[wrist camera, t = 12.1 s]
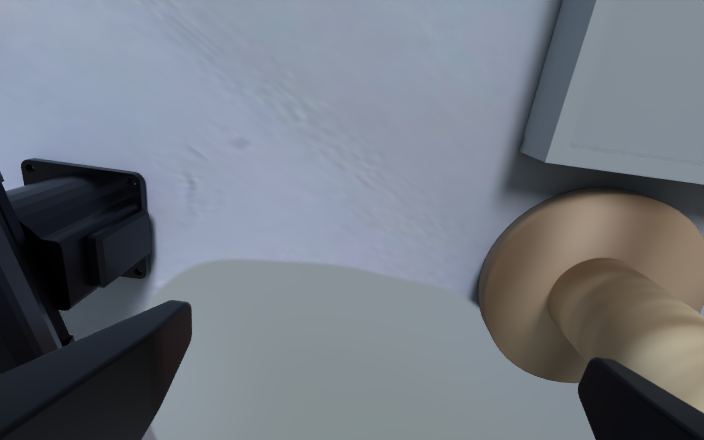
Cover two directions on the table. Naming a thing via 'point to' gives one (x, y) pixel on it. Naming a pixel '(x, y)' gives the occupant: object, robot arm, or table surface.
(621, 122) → the grey tray
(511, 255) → the tan wooden disc
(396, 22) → the table surface
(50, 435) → the robot arm
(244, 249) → the table surface
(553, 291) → the oak canister
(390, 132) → the table surface
